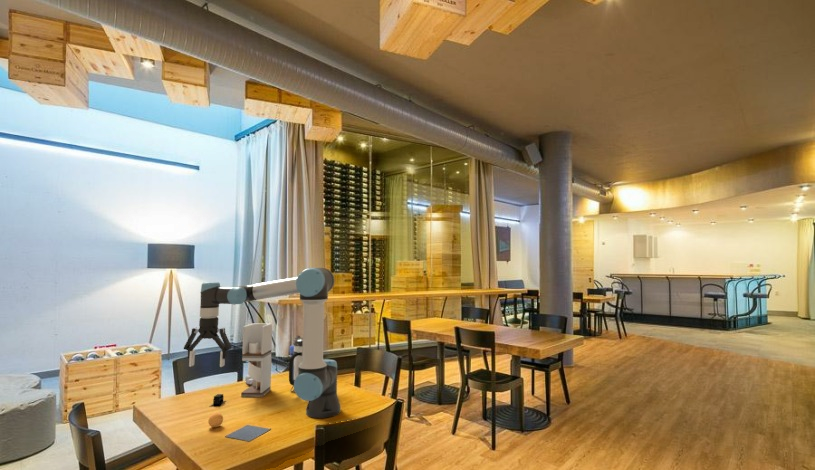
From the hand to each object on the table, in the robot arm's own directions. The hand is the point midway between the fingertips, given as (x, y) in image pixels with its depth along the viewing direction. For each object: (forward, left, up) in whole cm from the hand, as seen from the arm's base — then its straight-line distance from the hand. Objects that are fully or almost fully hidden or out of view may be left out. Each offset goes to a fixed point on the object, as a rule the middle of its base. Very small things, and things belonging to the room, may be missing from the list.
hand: (206, 366), depth 176 cm
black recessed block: (+9, -16, -23) cm, 29 cm away
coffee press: (-18, -47, -22) cm, 55 cm away
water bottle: (-1, -64, -22) cm, 68 cm away
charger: (+17, -49, -22) cm, 57 cm away
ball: (-13, +6, -19) cm, 24 cm away
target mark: (-30, +6, -22) cm, 37 cm away
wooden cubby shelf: (+3, -35, -22) cm, 41 cm away
